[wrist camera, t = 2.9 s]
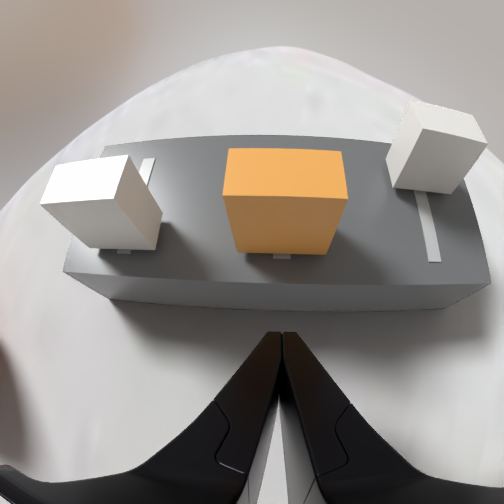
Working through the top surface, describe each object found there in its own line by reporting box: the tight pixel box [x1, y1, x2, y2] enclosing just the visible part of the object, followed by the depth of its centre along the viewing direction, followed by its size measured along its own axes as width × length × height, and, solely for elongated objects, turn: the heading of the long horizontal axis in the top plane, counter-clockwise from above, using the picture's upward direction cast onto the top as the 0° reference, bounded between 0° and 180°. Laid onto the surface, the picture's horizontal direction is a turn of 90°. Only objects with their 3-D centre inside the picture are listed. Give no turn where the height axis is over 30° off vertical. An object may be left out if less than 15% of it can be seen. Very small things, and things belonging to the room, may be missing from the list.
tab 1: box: [40, 155, 163, 250], centre depth 11 cm, size 2×4×4 cm, turn 87°
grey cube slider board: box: [63, 135, 491, 311], centre depth 16 cm, size 8×21×5 cm, turn 87°
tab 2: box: [222, 148, 348, 255], centre depth 10 cm, size 2×4×4 cm, turn 86°
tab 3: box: [386, 99, 488, 194], centre depth 11 cm, size 2×4×4 cm, turn 87°
